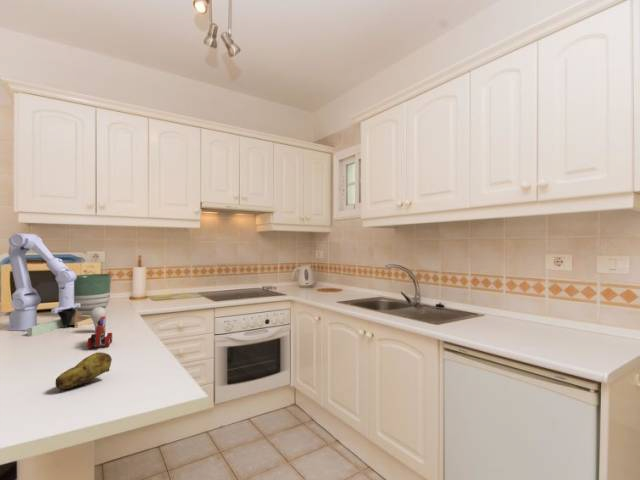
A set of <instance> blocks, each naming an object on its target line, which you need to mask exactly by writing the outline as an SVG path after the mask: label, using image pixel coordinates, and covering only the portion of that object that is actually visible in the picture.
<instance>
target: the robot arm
mask: <svg viewBox="0 0 640 480" xmlns="http://www.w3.org/2000/svg"><path fill="white" fill-rule="evenodd" d="M8 244H9V248H8V251H7V252H8V257H9V261H10V262H9V263H10V267H11V270H12V271H11V272H12V276H13V281H14V286H15V291H14V292H13V293H12V294H11V298H12V300H11V307H12V308H13V310H11V312H9V313H10V314H9V316H8V317H9V319H8V320H9V321H8V322H9V323H8V324H9V325H8V326H9V327H8V328H7V331H28V328H29V327H33V326H36V325H38V324H37V308H38V306H39V305H40V304H41V301H42V299H41V296H40V295H39V294H38V291H37V289H35V288H34V287H33V286H32V281H31V278H30V277H31V276H30V273H29V268H28V263H27V262H28V261H27V258H26V254H27V253H28V252H29V251H31V250H33V251H34V252H36V254H37V255H39V256H40V257H41V258H42V259H43V260H44V261H45V262H46V264H45V266H46V267H47V269H48V270H50V272H51V273H52V274H53V275H54V276H55V277H54V278H55V281H56V283H57V285H58V286H57V287H58V306H56V307H54V308H51V311H50V313H51V314H57V315H58V316H59V319H61V320H62V323H63V326H64V327H68V326H71V325H70V322H71V319H72V317H73V315H74V313H75V312H76V310H75V309H73V308H79V307H81V303H75V304H74V281H75V280H76V279H77V275H78V274H77V272H76V270H72V269H70V267H68V266H66V264H65V263H64V262H63V259H62V258H59V257H55V256H54V255H53V254H52V253H51V252H50V250H49V249H48V248H47V246H46V245H45V244H44V243H43V239H42V238H41V237H40V236H39V235H38V233H37V234H36V233H35V232H34V233H33V232H32V233H21V232H17V233H14V234H12V235H11V236H10V238H9V239H8Z"/></svg>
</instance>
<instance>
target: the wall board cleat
mask: <svg viewBox="0 0 640 480" xmlns="http://www.w3.org/2000/svg"><path fill="white" fill-rule="evenodd" d="M91 324H94V322H93V320H92V319H91V317H90V315H82V317H81V321H79V322H76V323H75V325H74V328H76V329H78V328H81V327H84V326H87V325H91ZM64 327H65V326H63V323H62V320H61V318H59V319H56V320H52V321H48V322H45V323H44V322H43V323H41V324H37V325H36V326H33V327H29V328H28V330H27V337H34V336H38V335H40V334H44V333H47V332H50V331H53V330H56V329H60V328H64Z"/></svg>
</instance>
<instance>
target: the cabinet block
mask: <svg viewBox="0 0 640 480" xmlns="http://www.w3.org/2000/svg"><path fill="white" fill-rule="evenodd" d="M75 310H76V312H75V313H74V315H73V317H72V319H71V322H70V325H69V326H75V323H76V322H79V321H81V317H82V312H78V311H77V309H75Z"/></svg>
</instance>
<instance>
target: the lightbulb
mask: <svg viewBox="0 0 640 480" xmlns="http://www.w3.org/2000/svg"><path fill="white" fill-rule="evenodd" d="M107 313H108V312H107V310H106V308H105V309H104V308H102V307H97V308H94V309H93V310H92V311H91V313H90V317H91V319H92V320H93V322H94V323H93V325H94V326H93V327H94V331H96V330H97V326H98V324H97V322H98V321H99V319H100V318H101V317H106V318H107V315H108V314H107Z"/></svg>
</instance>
